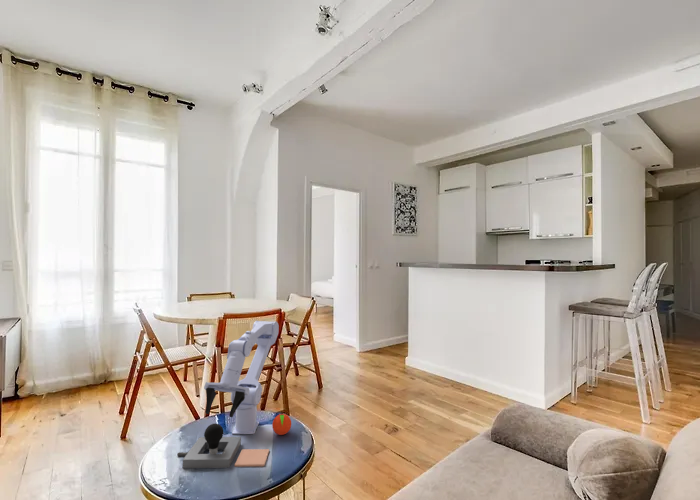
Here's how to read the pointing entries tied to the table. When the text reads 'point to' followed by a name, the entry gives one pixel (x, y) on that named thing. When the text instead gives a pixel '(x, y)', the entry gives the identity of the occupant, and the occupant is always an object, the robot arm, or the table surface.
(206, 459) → the socket block
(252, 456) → the terracotta tile
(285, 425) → the clementine
